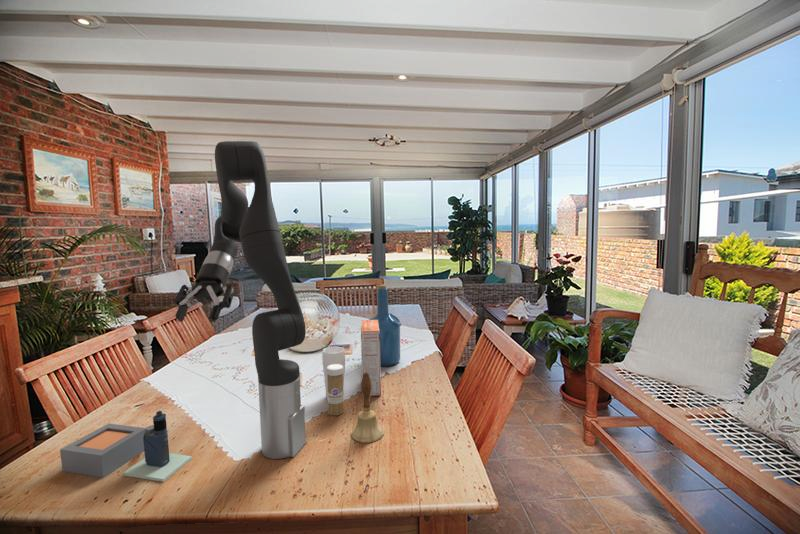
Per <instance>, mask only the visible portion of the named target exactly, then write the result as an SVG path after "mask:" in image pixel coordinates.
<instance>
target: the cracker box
mask: <svg viewBox="0 0 800 534" xmlns="http://www.w3.org/2000/svg"><path fill="white" fill-rule="evenodd" d="M360 324H361V329H360V331H361V333H360V348H361V349H360V351H361V355H360V356H361V376H362V377H363V373H364V372H368V373H369V377H370V380H371V393H370V397H379V396H382V379H381V374H382V373H381V366H380V332H379V324H378V320H369V319H364V320H361V323H360ZM362 377H361V378H362Z"/></svg>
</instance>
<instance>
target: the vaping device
mask: <svg viewBox="0 0 800 534" xmlns="http://www.w3.org/2000/svg"><path fill="white" fill-rule="evenodd" d="M166 416H167V415H166V413H163V411H162V410H158V411H156V414H155V415H153V417H152V422H153V424H152V425H148V426H146V427H144V428H145V433H144V436H143V441H144V451H143V452H144V458H145V462H147V465H149V466H156V467H163V466H165V465H166V464H168V463H169V461H170V459H169V453H170V451H169V450H170V448H169V447H170V446H169V437H168V436H169V435H168V434H169V433H168V432H169V431H168V427H167V418H166Z"/></svg>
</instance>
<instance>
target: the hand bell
mask: <svg viewBox="0 0 800 534" xmlns="http://www.w3.org/2000/svg"><path fill="white" fill-rule="evenodd" d="M360 390H361V394H362V397H363V399H362V400H363V401H362V402H363V403H362V404H363V405H362V407H363V410H361V411H359V412H358V415H357V422H356V425H355V427H354V428H353V429H351V433H350V437H351V439H352V440H353V441H354V442H358V443H362V444H363V443H364V444H368V443H374V442H376V441H378V440H380V439H381V438H382V437H383V436H384V432H385V431H384V429H383V428H382V426H381V425H380V424H379V423H378V420H377V414H376V412H375V411H374V410H372V409H371V405H370V404H371V403H370V402H371V401H370V400H371V399H370V397H371V396H370V393H371V380H370V377H369V373H368V372H364V373H363V377H361V380H360Z"/></svg>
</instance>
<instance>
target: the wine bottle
mask: <svg viewBox="0 0 800 534" xmlns="http://www.w3.org/2000/svg"><path fill="white" fill-rule="evenodd" d="M378 286H379V287H377V294H376V295H377V296H376V298H377V299H376V300H377V306H376V307H377V308H376V310H377V311H376V315H374V316H372V317H370V318H369V319H368V320H378V324H379V332H380V367H389V366H393V365H396V364H397V363H399V362H400V360H401V327H402V322H401V321H400V319H399V318H398V317H397V316H395V315H394V314H392V313H389V300H388V299H389V293H388V292H389V291H388V288H387V286H386V284H379V285H378Z"/></svg>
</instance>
